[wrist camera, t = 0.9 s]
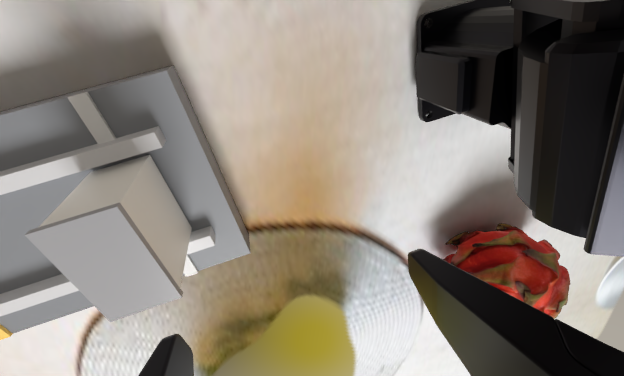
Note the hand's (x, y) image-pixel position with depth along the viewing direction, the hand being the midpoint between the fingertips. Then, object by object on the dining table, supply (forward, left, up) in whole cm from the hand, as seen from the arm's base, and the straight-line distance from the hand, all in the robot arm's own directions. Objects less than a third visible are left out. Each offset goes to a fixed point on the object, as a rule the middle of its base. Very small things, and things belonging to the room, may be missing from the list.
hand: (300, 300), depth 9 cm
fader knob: (+7, 0, -10) cm, 12 cm away
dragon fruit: (-16, +16, -12) cm, 26 cm away
